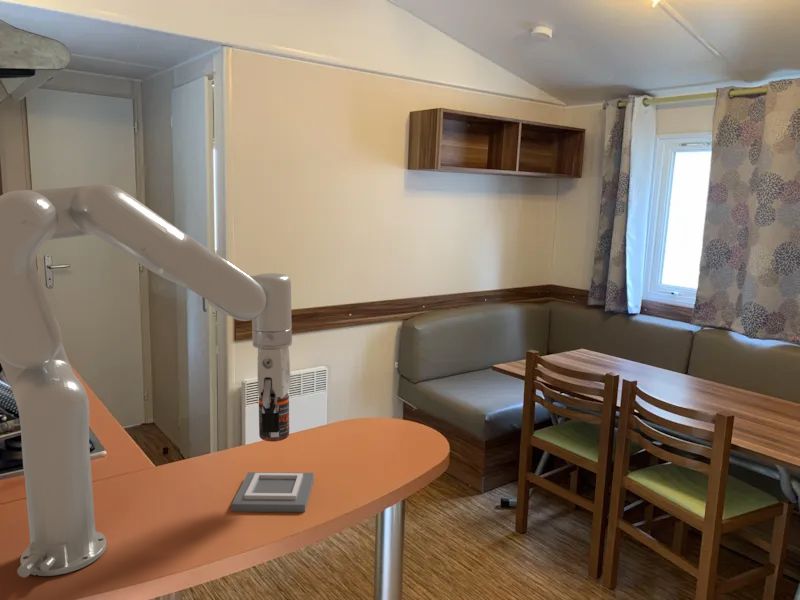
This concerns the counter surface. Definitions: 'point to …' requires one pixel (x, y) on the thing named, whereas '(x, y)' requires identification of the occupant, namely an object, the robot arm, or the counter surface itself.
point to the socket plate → (274, 492)
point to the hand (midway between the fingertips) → (274, 424)
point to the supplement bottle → (283, 420)
